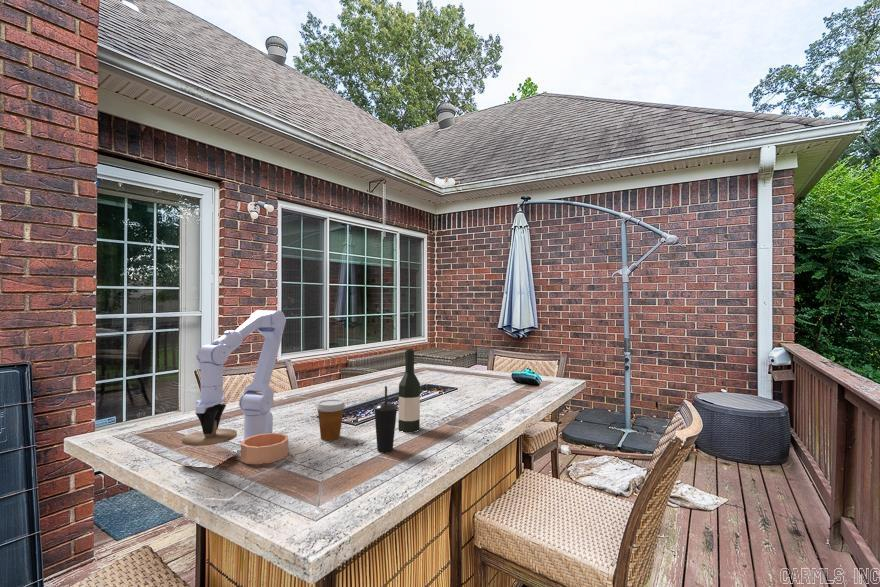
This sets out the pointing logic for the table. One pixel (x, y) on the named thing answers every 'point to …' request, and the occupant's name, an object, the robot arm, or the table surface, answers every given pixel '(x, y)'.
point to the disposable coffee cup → (330, 418)
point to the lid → (209, 437)
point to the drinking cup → (385, 424)
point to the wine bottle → (409, 397)
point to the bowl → (264, 448)
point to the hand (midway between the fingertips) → (210, 431)
